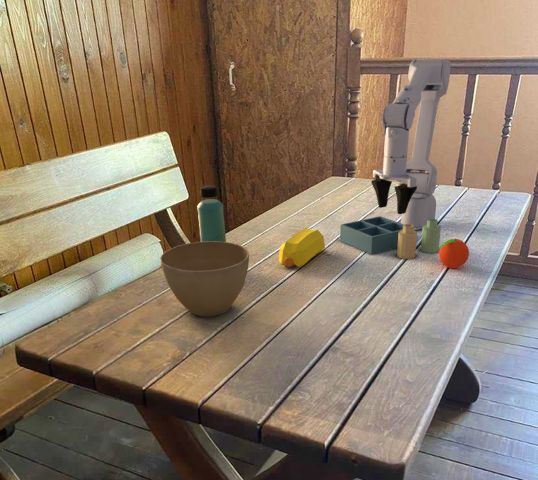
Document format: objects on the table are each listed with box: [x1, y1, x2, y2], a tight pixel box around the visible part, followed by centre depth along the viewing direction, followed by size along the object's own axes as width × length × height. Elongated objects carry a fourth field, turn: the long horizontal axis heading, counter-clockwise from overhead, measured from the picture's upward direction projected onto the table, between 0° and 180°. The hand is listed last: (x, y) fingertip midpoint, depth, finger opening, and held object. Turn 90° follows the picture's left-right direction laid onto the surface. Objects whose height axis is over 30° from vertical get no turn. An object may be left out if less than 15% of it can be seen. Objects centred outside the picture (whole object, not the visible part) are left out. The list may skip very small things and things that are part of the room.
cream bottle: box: [396, 224, 418, 260], centre depth 147 cm, size 4×5×8 cm
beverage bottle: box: [196, 185, 227, 242], centre depth 142 cm, size 6×7×20 cm
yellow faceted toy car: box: [278, 227, 326, 269], centre depth 148 cm, size 18×7×8 cm
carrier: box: [339, 215, 404, 255], centre depth 158 cm, size 14×14×5 cm
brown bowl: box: [159, 241, 250, 317], centre depth 122 cm, size 18×18×12 cm
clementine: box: [438, 238, 470, 269], centre depth 139 cm, size 8×7×7 cm
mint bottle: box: [420, 218, 442, 254], centre depth 150 cm, size 4×5×8 cm
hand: (391, 210), depth 151 cm, fingers open, 7 cm apart
